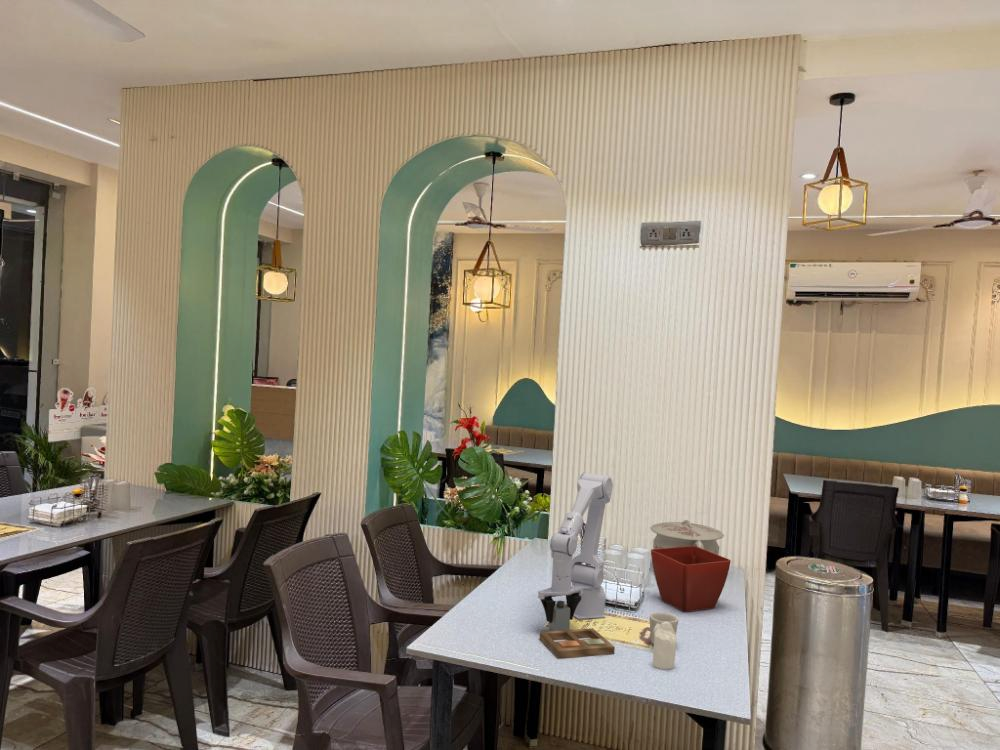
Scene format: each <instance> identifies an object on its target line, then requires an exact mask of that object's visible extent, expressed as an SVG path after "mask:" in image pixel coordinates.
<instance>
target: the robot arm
mask: <svg viewBox="0 0 1000 750" xmlns="http://www.w3.org/2000/svg"><path fill="white" fill-rule="evenodd" d="M576 484H577V495H576V498H575V501H574V504H573V507H572V510H571V511H570V512H568V513H566V514H565V517H564V519H563V520H562V522H561V525H560V528H559V529H558V531H557V532H556V533H554V534H553V535H552V536H551V538H550V543H549V550H550V556H551V558H552V568H551V570H552V571H551V587H548V588H545V589H542V590H538V592H537V593H538V594H537V597H538V599H540V602H541V604H542V607H543V609H544V614H545V618H546V619H545V620H546V622H547V623H552V621H553V611H554V606H555V604H557V601H555V600H554V598H555V597H563V596H564V597H565V602H566V606H568V607H569V608H570V621H572V620H573V619H574V617H575V618H576V619H577V620H584V619H585V620H586V619H599V618H605V617H606V615H605V604H606V603H605V601H606V594H605V590H604V588H603V586H602V584H603V582H604V578H605V577H604V576H605V574H604V567H605V566H604V562H603V561H602V560H601V559H600V558H599V557H598V556H597V555H598V550H599V549H598V548H599V544H600V538H601V532H602V526H603V520H604V514H605V508H606V504H609V503H610V502H611V499H612V492H613V487H614V484H613V480H612V477H611V476H610V475H603V474H595V473H588V472H584V471H583V472H581V473H580V474H579V475H578V477H577V482H576ZM587 510H588V511H587ZM586 511H587V518H586V523H585V529H584V534H583V539H582V540H583V541H582V546H581V551H580V554H578V555H576V556H573V555H574V554H575V553H576V550H577V547H578V541H579V534H580V532H581V529H582V527H583V525H584V522H585V521H584V518H583V516H585V513H586ZM583 563H584V564H583Z"/></svg>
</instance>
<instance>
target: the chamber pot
mask: <svg viewBox="0 0 1000 750" xmlns="http://www.w3.org/2000/svg"><path fill="white" fill-rule="evenodd" d="M649 529H650V531H651V532H653V533H655V534H656V535H655V537H654V538H653V540H652V548H653V549H661V548H673V547H685V546H697V547H699V548H702V549H704V550H707V551H709V552H712V553H714V554H717V555H719V556H720V545H719V544H718V540H720V539H723V538H724V536H725V534H724V533H723V532H722V531H720V530H718V529H716V528H714V527H710V526H707V525H704V524H700V523H699V524H698V523H693V522H691V521H690V520H688V519H685V520H683V521H668V522H666V521H665V522H659V523H655V524H653V525H651V526H650V527H649Z"/></svg>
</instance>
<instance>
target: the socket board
mask: <svg viewBox="0 0 1000 750" xmlns="http://www.w3.org/2000/svg"><path fill="white" fill-rule="evenodd" d="M539 640H540V641H541V643H543V644H544V646H545V647H546V648H547V649H549V651H550V652H551V653H552V654H553V655H554V656H555V657H556V658H557V659H559V660H560V659H570V658H572V659H573V658H582V657H583V658H585V657H594V656H607V655H615V650H616V649H615V645H613V644H612V643H611V642H610V641H609V640H607V639H606V638H605V637H604V636H603V635H601V634H600V633H599V632H598V631H597V630H595V629H594V628H579V629H577V628H576V629H569V630H561V631H552V630H551V631H540V632H539Z"/></svg>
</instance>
